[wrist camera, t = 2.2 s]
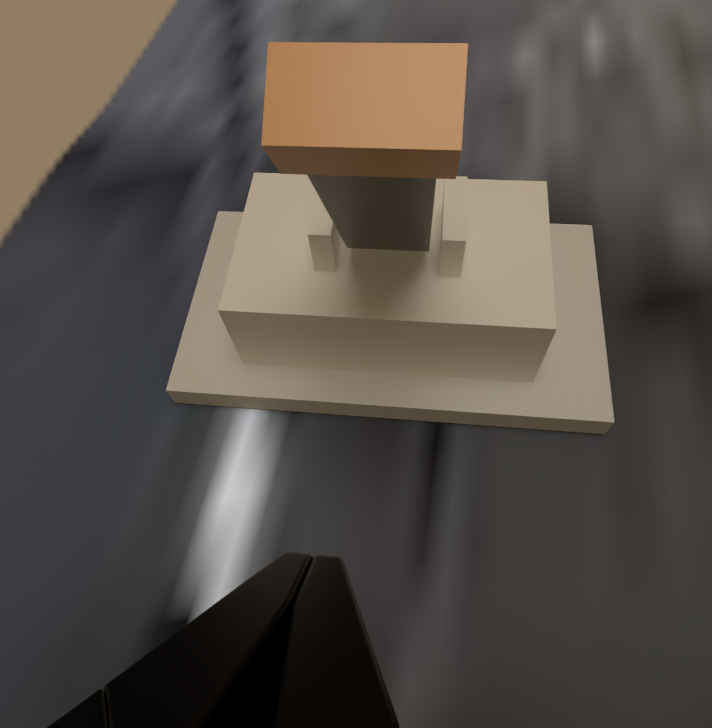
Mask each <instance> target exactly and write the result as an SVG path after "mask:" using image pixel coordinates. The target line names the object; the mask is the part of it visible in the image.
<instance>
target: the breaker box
mask: <svg viewBox="0 0 712 728" xmlns="http://www.w3.org/2000/svg"><path fill="white" fill-rule="evenodd" d="M166 391H167V393H168V394H169V395H170V396H171V398H172V399H173V400H174V402H175V403H185V404H199V405H212V406H226V407H239V408H253V409H267V410H280V411H294V412H308V413H321V414H335V415H348V416H362V417H376V418H389V419H403V420H417V421H430V422H444V423H457V424H471V425H485V426H498V427H512V428H526V429H539V430H553V431H566V432H580V433H594V434H605V433H606V432H607V431H608V430H609V428H610V427H611V426H612V425H613V424H614V415H613V406H612V397H611V388H610V380H609V371H608V362H607V353H606V345H605V336H604V327H603V318H602V310H601V301H600V292H599V283H598V275H597V266H596V257H595V248H594V240H593V231H592V225H572V224H549V209H548V195H547V182H546V181H513V180H479V179H468V177H460V176H456V179H436V186H435V196H434V207H433V217H432V227H431V237H430V247H429V252H428V251H405V250H382V249H359V248H347V247H346V245H345V243H344V241H343V239H342V238H341V236H340V234H339V232H338V230H337V228H336V227H335V225H334V223H333V221H332V219H331V217H330V216H329V214H328V212H327V210H326V208H325V206H324V205H323V203H322V201H321V199H320V197H319V195H318V194H317V192H316V190H315V188H314V186H313V185H312V183H311V181H310V179H309V177H308V175H301V174H279V173H254V175H253V179H252V183H251V187H250V190H249V194H248V198H247V202H246V206H245V209H244V212H224V211H218V214H217V218H216V221H215V225H214V228H213V231H212V235H211V238H210V242H209V245H208V248H207V252H206V255H205V259H204V262H203V265H202V269H201V272H200V276H199V279H198V283H197V286H196V289H195V293H194V296H193V300H192V303H191V306H190V310H189V313H188V317H187V320H186V324H185V327H184V330H183V334H182V337H181V341H180V344H179V347H178V351H177V354H176V358H175V361H174V364H173V368H172V371H171V375H170V378H169V382H168V385H167V388H166Z"/></svg>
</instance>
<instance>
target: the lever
mask: <svg viewBox="0 0 712 728" xmlns="http://www.w3.org/2000/svg"><path fill="white" fill-rule="evenodd" d="M467 53H468V43H309V42H268V55H267V70H266V85H265V100H264V114H263V129H262V144H261V145H262V147H263V148H264V150H265V151H266V153H267V154H268V156H269V157H270V159H271V160H272V162H273V163H274V165H275V166H276V168H277V169H278V171H279V172H280V174H301V175H308V177H309V179H310V181H311V183H312V185H313V186H314V188H315V190H316V192H317V194H318V195H319V197H320V199H321V201H322V203H323V205H324V206H325V208H326V210H327V212H328V214H329V216H330V217H331V219H332V221H333V223H334V225H335V227H336V228H337V230H338V232H339V234H340V236H341V238H342V239H343V241H344V243H345V245H346V247H347V248H359V249H382V250H405V251H428V252H429V247H430V237H431V227H432V217H433V207H434V196H435V186H436V179H456V175H457V170H458V165H459V160H460V155H461V148H462V132H463V116H464V101H465V85H466V69H467Z"/></svg>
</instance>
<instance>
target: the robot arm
mask: <svg viewBox="0 0 712 728" xmlns="http://www.w3.org/2000/svg"><path fill="white" fill-rule="evenodd" d="M47 728H399V723H398V720H397V717H396V714H395V712H394V709H393V706H392V703H391V700H390V697H389V694H388V691H387V688H386V685H385V682H384V679H383V676H382V673H381V671H380V668H379V665H378V662H377V659H376V656H375V653H374V650H373V647H372V644H371V641H370V638H369V635H368V632H367V630H366V627H365V624H364V621H363V618H362V615H361V612H360V609H359V606H358V603H357V600H356V597H355V594H354V592H353V589H352V586H351V583H350V580H349V577H348V574H347V571H346V568H345V565H344V562H343V560H342V559H341V558H340V557H334V556H323V555H316V556H314V558H313V557H312V556H311V555H310V554H303V553H293V552H285V553H283V554H282V555H280V556H279V557H278V558H276V559H275V560H274V561H272V562H271V563H270V564H268V565H267V566H266V567H264V568H263V569H262V570H260V571H259V572H257V573H256V574H255V575H253V576H252V577H251V578H249V579H248V580H247V581H245V582H244V583H243V584H241V585H240V586H239V587H237V588H236V589H235V590H233V591H232V592H231V593H229V594H228V595H226V596H225V597H224V598H222V599H221V600H220V601H218V602H217V603H216V604H214V605H213V606H212V607H210V608H209V609H208V610H206V611H205V612H204V613H202V614H201V615H199V616H198V617H197V618H195V619H194V620H193V621H191V622H190V623H189V624H187V625H186V626H185V627H183V628H182V629H181V630H179V631H178V632H177V633H175V634H174V635H172V636H171V637H170V638H168V639H167V640H166V641H164V642H163V643H162V644H160V645H159V646H158V647H156V648H155V649H154V650H152V651H151V652H150V653H148V654H147V655H145V656H144V657H143V658H141V659H140V660H139V661H137V662H136V663H135V664H133V665H132V666H131V667H129V668H128V669H127V670H125V671H124V672H123V673H121V674H120V675H118V676H117V677H116V678H114V679H113V680H112V681H110V682H109V683H108V684H106V686H105V692H104V690H103V689H100V690H98V691H97V692H95V693H94V694H92V695H91V696H90V697H88V698H87V699H86V700H84V701H83V702H82V703H80V704H79V705H78V706H76V707H75V708H74V709H72V710H71V711H69V712H68V713H67V714H65V715H64V716H62V717H61V718H59V719H58V720H57V721H55V722H54V723H52V724H51V725H50V726H48V727H47Z"/></svg>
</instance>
